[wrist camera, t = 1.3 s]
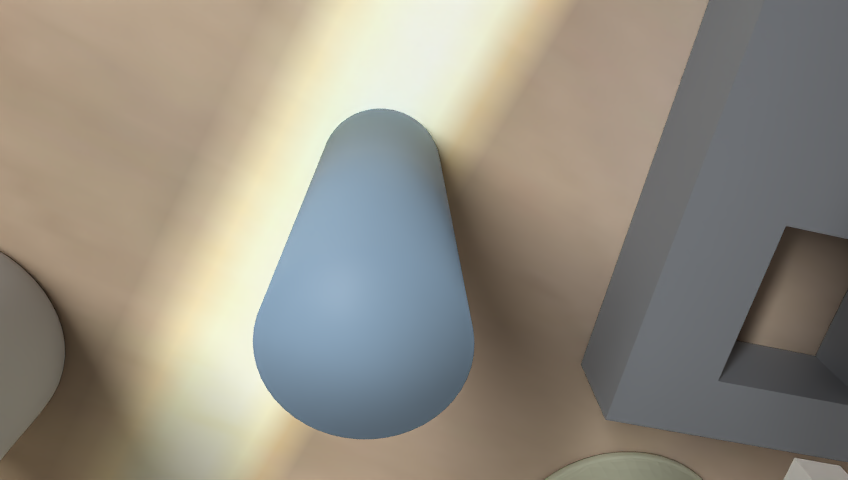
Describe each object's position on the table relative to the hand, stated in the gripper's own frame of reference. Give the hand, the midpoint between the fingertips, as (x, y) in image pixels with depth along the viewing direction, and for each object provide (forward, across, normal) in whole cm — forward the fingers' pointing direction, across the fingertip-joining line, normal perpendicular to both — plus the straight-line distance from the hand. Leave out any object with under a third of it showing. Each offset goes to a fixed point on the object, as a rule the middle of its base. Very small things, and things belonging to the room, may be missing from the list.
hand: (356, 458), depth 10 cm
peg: (+15, 0, 0) cm, 15 cm away
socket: (+15, +15, +2) cm, 21 cm away
